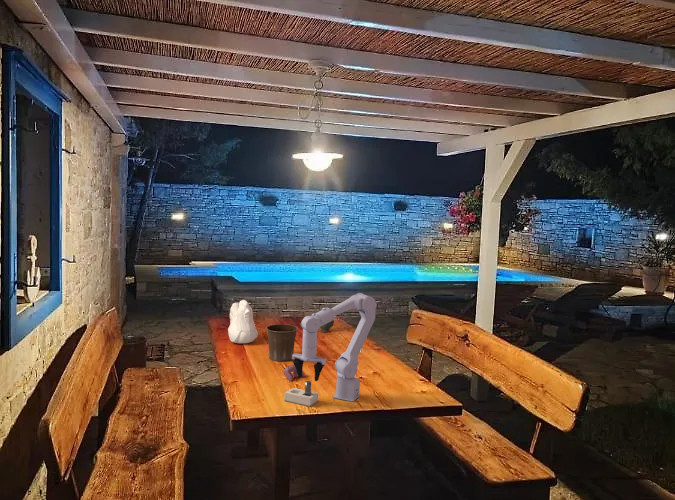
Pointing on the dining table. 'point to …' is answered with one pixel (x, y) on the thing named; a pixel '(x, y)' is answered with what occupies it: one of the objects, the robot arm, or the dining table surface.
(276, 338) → the plant pot
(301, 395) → the bore block
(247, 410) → the dining table surface
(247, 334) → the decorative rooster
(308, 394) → the pin
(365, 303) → the robot arm
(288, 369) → the video game controller
